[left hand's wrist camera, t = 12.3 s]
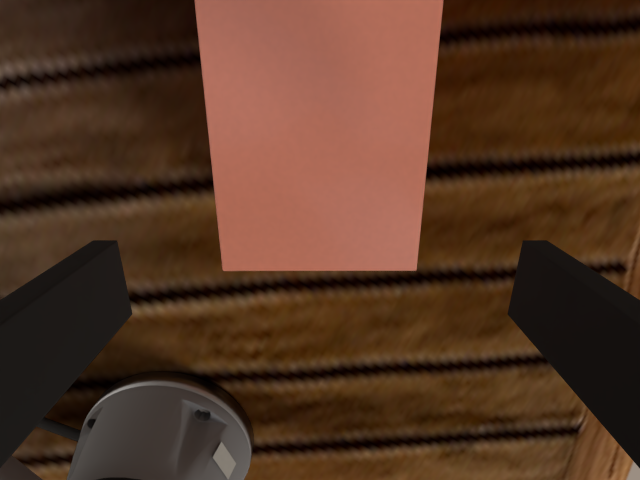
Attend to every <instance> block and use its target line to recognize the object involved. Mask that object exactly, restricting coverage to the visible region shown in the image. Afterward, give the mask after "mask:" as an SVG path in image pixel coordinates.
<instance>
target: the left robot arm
mask: <svg viewBox="0 0 640 480" xmlns="http://www.w3.org/2000/svg"><path fill="white" fill-rule="evenodd" d="M131 315H132V310H131V305H130V301H129V296H128V291H127V286H126V281H125V277H124V272H123V267H122V262H121V257H120V253H119V248H118V243H117V241H92V242H90V243H89V244H87V245H86V246H84V247H82V248H81V249H79V250H78V251H76V252H75V253H73V254H72V255H70V256H68V257H67V258H65V259H64V260H62V261H61V262H59V263H58V264H56V265H54V266H53V267H51V268H50V269H48V270H47V271H45V272H44V273H42V274H40V275H39V276H37V277H36V278H34V279H33V280H31V281H30V282H28V283H26V284H25V285H23V286H22V287H20V288H19V289H17V290H16V291H14V292H12V293H11V294H9V295H8V296H6V297H5V298H3V299H2V300H0V480H42V479H41V478H40V477H38V476H37V475H36V474H35V473H33V472H32V471H31V470H30V469H28V468H27V467H26V466H24V465H23V464H22V463H21V462H19V461H18V460H17V459H16V458H14V457H13V456H12V454H13V453H14V452H15V450H16V449H17V448H18V447H19V446H20V445H21V443H22V442H23V441H24V440H25V439H26V438H27V436H28V435H29V434H30V433H31V432H32V431H33V429H34V428H35V427H36V426H37V427H39V428H42V429H45V430H47V431H50V432H53V433H56V434H58V435H61V436H64V437H67V438H69V439H72V440H75V441H77V442H78V443H77V447H76V450H75V453H74V457H73V460H72V464H71V467H70V470H69V474H68V477H67V480H244V478H245V476H246V474H247V472H248V469H249V466H250V461H251V456H252V451H253V444H254V435H253V430H252V426H251V423H250V421H249V419H248V417H247V415H246V413H245V411H244V410H243V409H242V407H241V406H240V405H239V404H238V403H237V402H236V401H235V400H234V399H233V398H232V397H231V396H230V395H229V394H227V393H226V392H225V391H223V390H222V389H220V388H219V387H217V386H215V385H213V384H212V383H210V382H207V381H205V380H203V379H200V378H197V377H194V376H190V375H187V374H181V373H175V372H148V373H142V374H137V375H134V376H131V377H128V378H125V379H123V380H121V381H119V382H117V383H116V384H114V385H113V386H111V387H110V388H109V389H108V390H107V391H105V392H104V394H103V395H102V396H101V397H100V398H99V400H98V401H97V403H96V404H95V405H94V407H93V408H92V409H91V411H90V412H89V414H88V415H87V417H86V419H85V422H84V424H83V427H82V430H81V431H80V430H78V429H75V428H72V427H69V426H66V425H64V424H61V423H58V422H55V421H53V420H50V419H47V418H45V415H46V414H47V413H48V412H49V411H50V410H51V408H52V407H53V406H54V405H55V404H56V403H57V401H58V400H59V399H60V398H61V397H62V396H63V394H64V393H65V392H66V391H67V390H68V389H69V387H70V386H71V385H72V384H73V383H74V382H75V380H76V379H77V378H78V377H79V376H80V375H81V373H82V372H83V371H84V370H85V369H86V368H87V366H88V365H89V364H90V363H91V362H92V361H93V359H94V358H95V357H96V356H97V355H98V354H99V352H100V351H101V350H102V349H103V348H104V347H105V345H106V344H107V343H108V342H109V341H110V340H111V338H112V337H113V336H114V335H115V334H116V333H117V331H118V330H119V329H120V328H121V327H122V326H123V324H124V323H125V322H126V321H127V320H128V319H129V317H130V316H131ZM508 315H509V316H510V317H511V319H512V320H513V321H514V322H515V323H516V324H517V326H518V327H519V328H520V329H521V330H522V331H523V333H524V334H525V335H526V336H527V337H528V338H529V340H530V341H531V342H532V343H533V344H534V345H535V347H536V348H537V349H538V350H539V351H540V352H541V354H542V355H543V356H544V357H545V358H546V359H547V361H548V362H549V363H550V364H551V365H552V366H553V368H554V369H555V370H556V371H557V372H558V373H559V375H560V376H561V377H562V378H563V379H564V380H565V382H566V383H567V384H568V385H569V386H570V387H571V389H572V390H573V391H574V392H575V393H576V394H577V396H578V397H579V398H580V399H581V400H582V401H583V403H584V404H585V405H586V406H587V407H588V408H589V410H590V411H591V412H592V413H593V414H594V415H595V417H596V418H597V419H598V420H599V421H600V422H601V424H602V425H603V426H604V427H605V428H606V429H607V431H608V432H609V433H610V434H611V435H612V436H613V438H614V439H615V440H616V441H617V442H618V443H619V445H620V446H621V447H622V448H623V449H624V450H625V452H626V453H627V454H628V455H629V456H630V457H631V459H632V460H633V461H634V462H635V463H636V464H637V466H638V467H639V468H640V300H638V299H637V298H635V297H634V296H632V295H631V294H629V293H628V292H626V291H624V290H623V289H621V288H620V287H618V286H617V285H615V284H614V283H612V282H610V281H609V280H607V279H606V278H604V277H603V276H601V275H600V274H598V273H596V272H595V271H593V270H592V269H590V268H589V267H587V266H586V265H584V264H582V263H581V262H579V261H578V260H576V259H575V258H573V257H572V256H570V255H568V254H567V253H565V252H564V251H562V250H561V249H559V248H558V247H556V246H554V245H553V244H551V243H550V242H548V241H523V243H522V248H521V253H520V257H519V262H518V267H517V272H516V277H515V281H514V286H513V291H512V296H511V301H510V305H509V310H508Z"/></svg>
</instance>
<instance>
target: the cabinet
mask: <svg viewBox="0 0 640 480" xmlns="http://www.w3.org/2000/svg"><path fill="white" fill-rule="evenodd" d="M442 9H443V0H195V10H196V19H197V29H198V38H199V48H200V58H201V67H202V77H203V86H204V96H205V106H206V115H207V125H208V135H209V144H210V154H211V163H212V173H213V183H214V192H215V202H216V211H217V221H218V231H219V240H220V250H221V259H222V269H223V271H415V270H416V269H417V260H418V250H419V240H420V230H421V220H422V210H423V200H424V189H425V179H426V169H427V159H428V149H429V139H430V129H431V119H432V109H433V99H434V89H435V79H436V69H437V59H438V49H439V39H440V29H441V19H442Z"/></svg>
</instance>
